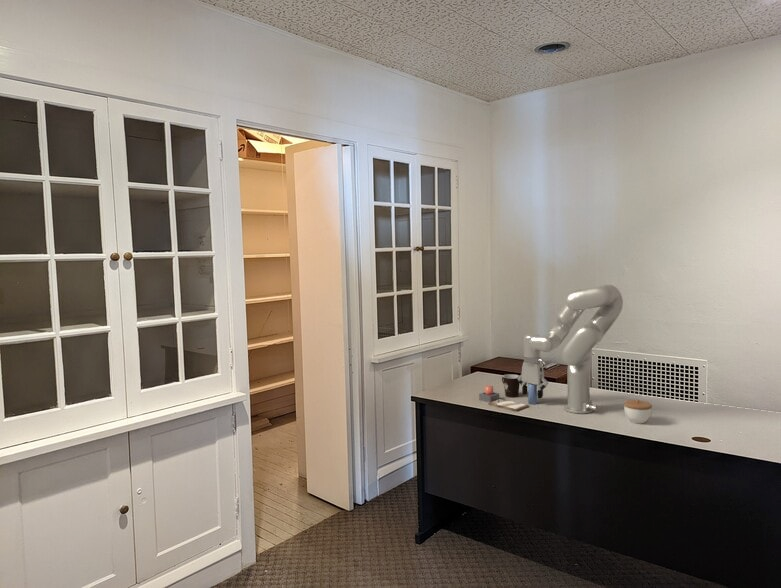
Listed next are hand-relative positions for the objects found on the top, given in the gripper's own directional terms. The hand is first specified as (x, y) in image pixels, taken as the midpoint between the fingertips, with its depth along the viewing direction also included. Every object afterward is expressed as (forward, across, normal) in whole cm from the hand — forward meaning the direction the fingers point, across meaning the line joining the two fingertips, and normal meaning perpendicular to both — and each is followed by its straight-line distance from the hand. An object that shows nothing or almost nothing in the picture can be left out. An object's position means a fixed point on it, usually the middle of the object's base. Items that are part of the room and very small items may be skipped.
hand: (532, 395), depth 258 cm
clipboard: (+4, +6, +11) cm, 13 cm away
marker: (+4, 0, 0) cm, 4 cm away
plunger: (+2, +19, +9) cm, 21 cm away
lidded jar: (+4, -47, -7) cm, 48 cm away
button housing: (+4, +19, +9) cm, 21 cm away
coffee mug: (+4, +16, -5) cm, 17 cm away
